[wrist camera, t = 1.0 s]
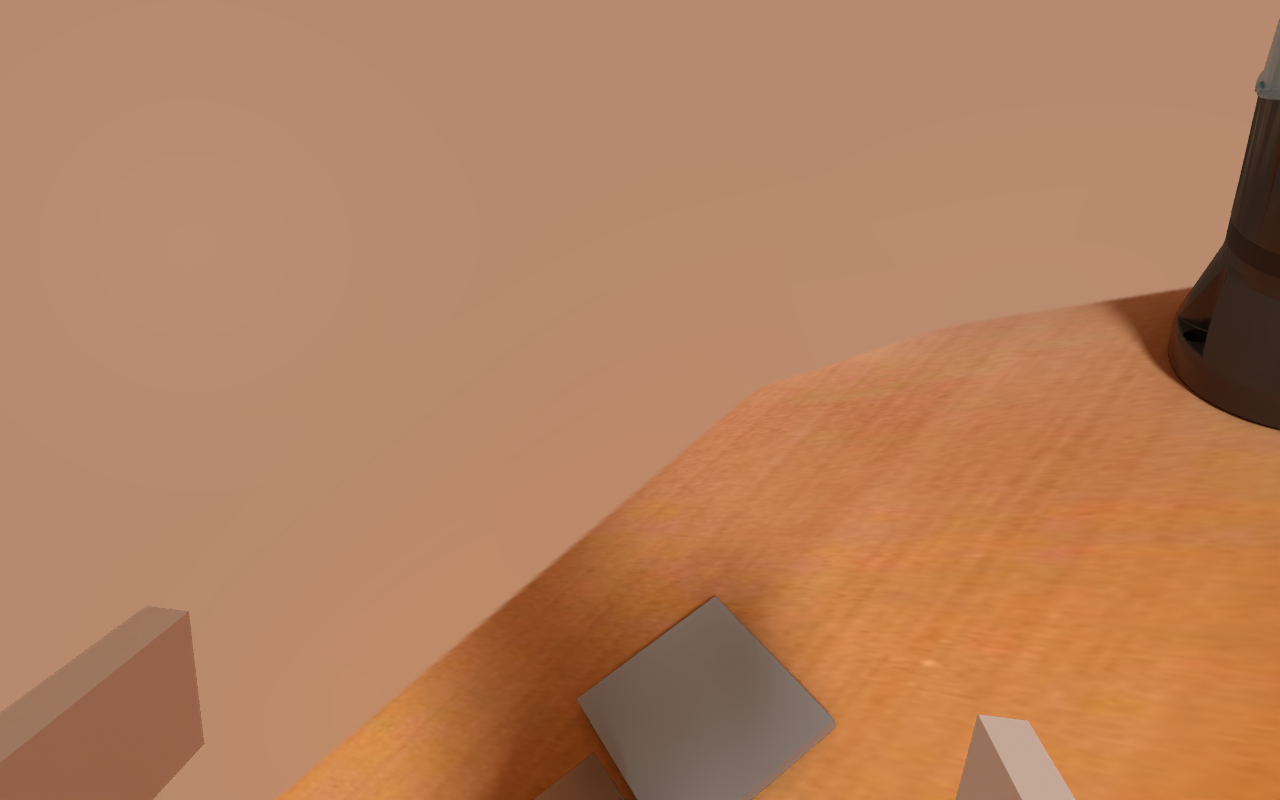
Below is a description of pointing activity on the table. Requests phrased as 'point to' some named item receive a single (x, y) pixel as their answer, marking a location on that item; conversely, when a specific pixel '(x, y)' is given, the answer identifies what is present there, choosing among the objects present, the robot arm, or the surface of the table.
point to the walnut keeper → (583, 784)
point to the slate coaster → (704, 713)
